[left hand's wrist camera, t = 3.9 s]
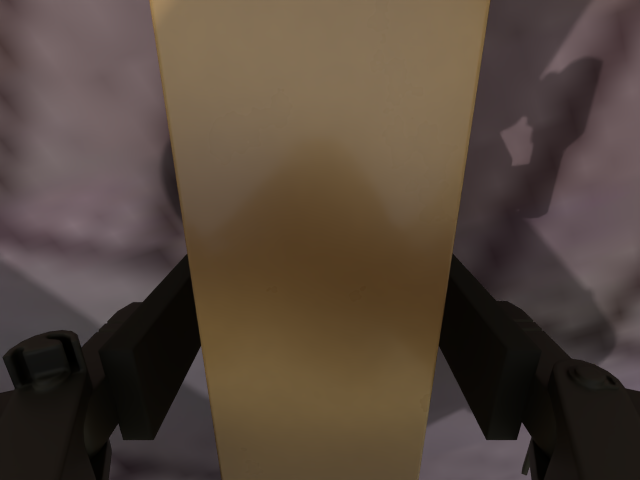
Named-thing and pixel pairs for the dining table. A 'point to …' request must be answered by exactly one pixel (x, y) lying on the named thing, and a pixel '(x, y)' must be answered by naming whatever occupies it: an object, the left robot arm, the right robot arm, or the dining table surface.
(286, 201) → the beam
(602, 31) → the dining table surface
